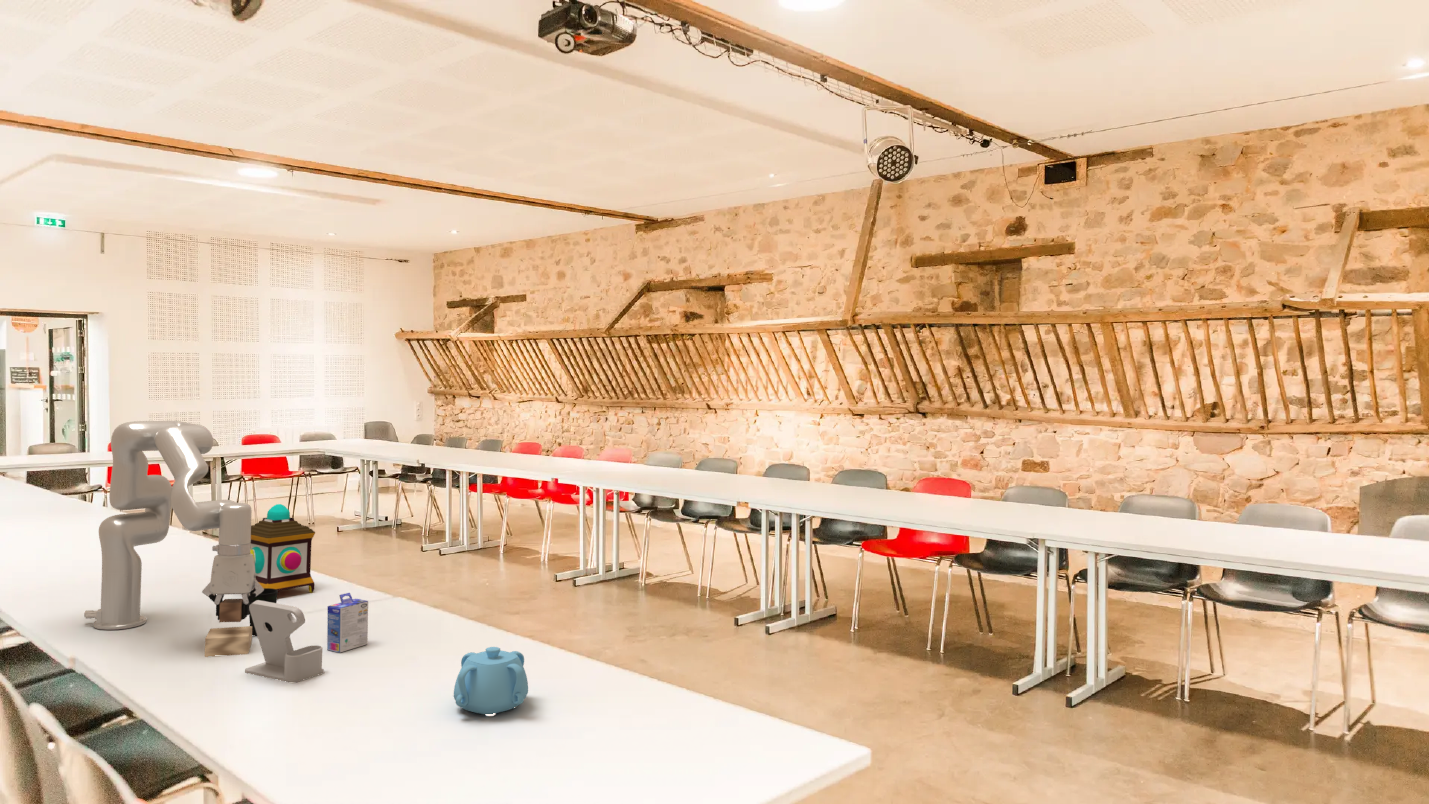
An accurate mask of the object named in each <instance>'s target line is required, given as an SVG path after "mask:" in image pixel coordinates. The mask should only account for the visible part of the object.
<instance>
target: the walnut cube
mask: <svg viewBox="0 0 1429 804" xmlns="http://www.w3.org/2000/svg"><path fill="white" fill-rule="evenodd" d="M242 604H243V598H224V599H223V601H222V602H221V603H220V613H219V620H218V623H240V622H242V620H244V619H241V614H242Z"/></svg>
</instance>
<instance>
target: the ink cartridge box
mask: <svg viewBox="0 0 1429 804" xmlns="http://www.w3.org/2000/svg"><path fill="white" fill-rule="evenodd" d="M338 595H339V599H340V602H338V603H335V604H331V605H328V606H327V622H326V623H327V633H326V634H327V635H326V637H327V638H326V640H327V641H326V643H327V644H326V645H327V646H326V649H327V651H330V652H335V653H343V652H346V651H349V650H353V649H355V648H359V647H362V646H365V645H368V637H369V636H368V635H369V634H368V633H369V630H368V629H369V627H368V625H369V600H367V599H366V600H365V599H361V598H353V597H352V594H351V592H346V593H341V594H338ZM345 597H348V598H345ZM343 598H345V599H343Z"/></svg>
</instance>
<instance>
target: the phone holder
mask: <svg viewBox="0 0 1429 804" xmlns="http://www.w3.org/2000/svg"><path fill="white" fill-rule="evenodd" d="M249 610H250V613H251V616H252V620H253V623H254V626H255V629H256V633H257V636H256V637H257V638H258V642H259V645H260V649H261V651H262V656H263V659H264V661H265V662H262V663H258V664H256V665H252V666H249V667H246V668H245V669H244V673H246V674H248V673H251V674H250V675H253V674H254V675H253V676H258V677H262V676H264V677H263V678H266V677H267V679H271V680H275V679H278V680H277V681H280V680H281V682H285V681H286V682H285V683H289V682H296V683H299V682H302V681H304V680H303V679H305V680H308V679H310V678H309V677H311V678H313V677H312V676H314V677H315V676H319V675H321V673H322V674H324V668H323V647H322V646H321V645H307V646H304V647H300V648H298V649H294V647H293V643H292V640H291V634H293V633H294V632H295V631H297V630H298V629H300V628H301V627H302V626H303V625H304V624H305V623H306V618H305V615H304V612H303V610H302V609H300V608H299V607H297V606H293V605H288V604H283V603H272V602H266V601H260V600H256V601H255V602H253V603H252V604H250V606H249ZM265 622H267V623H269V624H270V625H271V626H272V629H273V631H272V632H269V631H268V629H267V628H266V626H265ZM318 674H319V675H318ZM307 678H308V679H307ZM301 680H302V681H301Z"/></svg>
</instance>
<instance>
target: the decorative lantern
mask: <svg viewBox="0 0 1429 804" xmlns="http://www.w3.org/2000/svg"><path fill="white" fill-rule="evenodd" d="M315 534H316V531H315V530H313V529H312V528H310V527H309V526H308V525H304V524H301V523H299V522H298V521H297V520H295V518H294V517H291V513H290V510H289V509H288V508H287V506H286V505H283V504H281V503H278V504H277V503H276V504H275V505H273V506H271V507H270V508H269V509H268V511H267V514H266V517H263V518H262V520H259V521H258V522H257V523H255V524H254V525H252V524H251V547H250V554H253V558H254V564H255V576H256V580H257V581H258V583H259V584H260V585H261V586H262V587H263V588H272V589H277V590H278V592H280V591H286V590H291V589H298V588H301V587H302V588H303V587H307V588H308V589H307V590H308V592H309V593H311V594H312V593H313V592H314V591H315V586H316V585H315V580H314V579H313V577H312V575H311V567H312V566H311V563H312V561H311V560H312V540H313V538H314V536H315ZM254 589H255V588H254ZM254 589H253V590H254Z"/></svg>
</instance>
